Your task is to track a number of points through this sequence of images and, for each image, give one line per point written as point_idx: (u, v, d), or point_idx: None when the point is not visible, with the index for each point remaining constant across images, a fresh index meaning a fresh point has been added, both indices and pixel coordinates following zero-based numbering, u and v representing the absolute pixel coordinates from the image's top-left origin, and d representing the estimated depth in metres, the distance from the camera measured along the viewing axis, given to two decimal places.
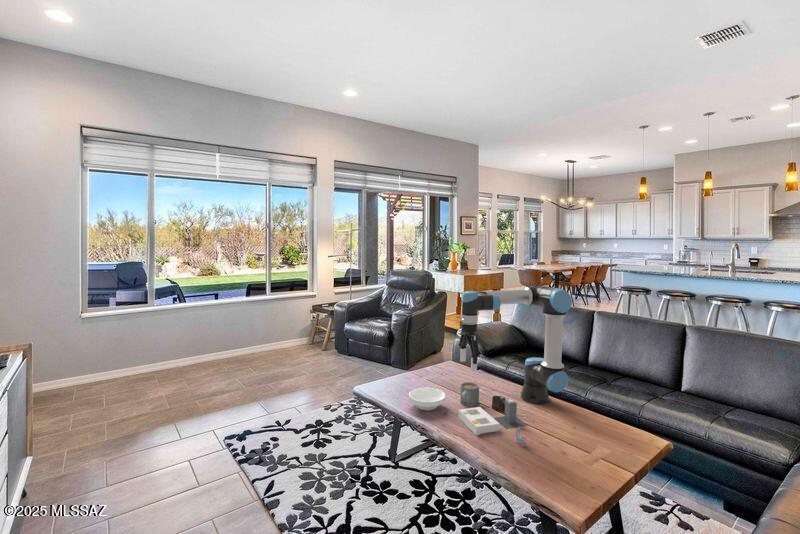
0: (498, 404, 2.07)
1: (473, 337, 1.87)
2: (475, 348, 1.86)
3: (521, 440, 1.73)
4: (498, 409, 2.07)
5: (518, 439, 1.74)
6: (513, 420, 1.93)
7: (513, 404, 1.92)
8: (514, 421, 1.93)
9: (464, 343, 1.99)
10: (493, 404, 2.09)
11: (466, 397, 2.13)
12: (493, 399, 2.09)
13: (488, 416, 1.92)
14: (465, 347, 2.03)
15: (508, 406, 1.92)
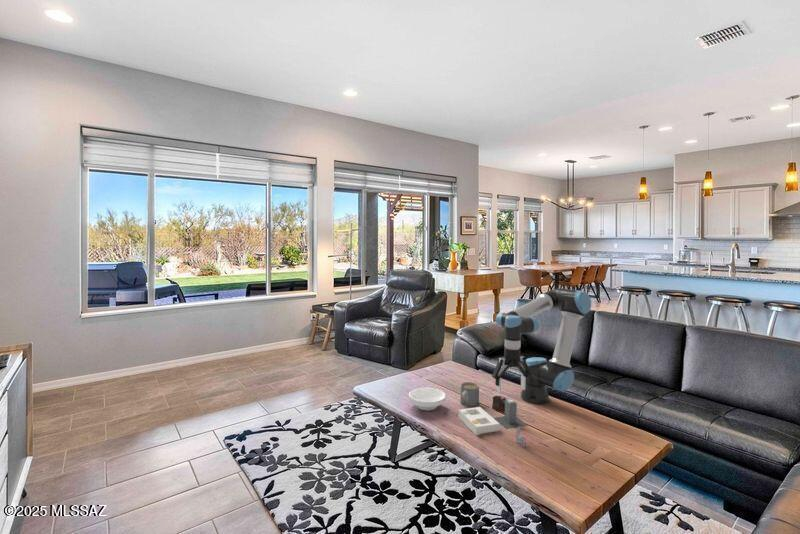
0: (499, 404, 2.07)
1: (498, 359, 1.91)
2: (495, 369, 1.90)
3: (521, 440, 1.74)
4: (498, 409, 2.07)
5: (518, 439, 1.74)
6: (513, 420, 1.93)
7: (513, 404, 1.92)
8: (514, 421, 1.93)
9: (519, 369, 1.94)
10: (494, 404, 2.09)
11: (466, 397, 2.13)
12: (494, 399, 2.09)
13: (488, 416, 1.92)
14: (527, 376, 1.94)
15: (508, 406, 1.92)
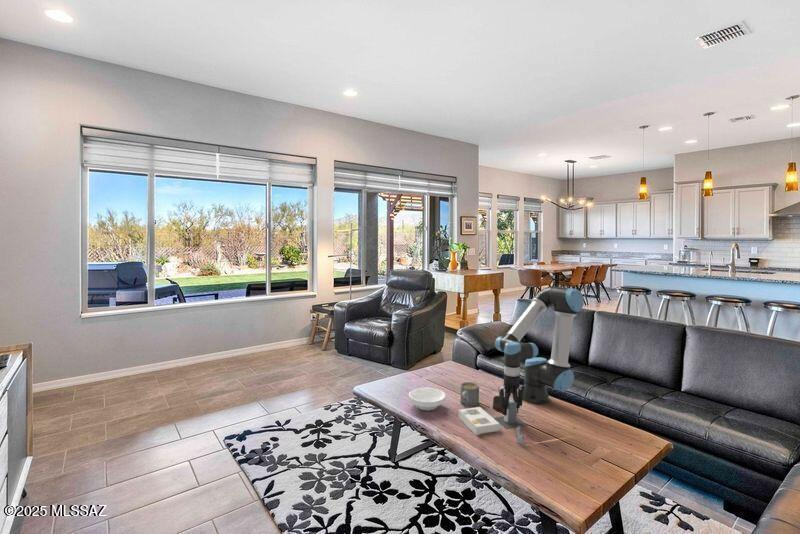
0: None
1: (498, 389, 1.92)
2: (500, 399, 1.92)
3: (521, 440, 1.74)
4: (499, 409, 2.06)
5: (518, 439, 1.75)
6: (513, 420, 1.93)
7: (513, 404, 1.92)
8: (514, 421, 1.93)
9: (514, 398, 1.94)
10: (494, 404, 2.09)
11: (466, 397, 2.13)
12: (494, 399, 2.09)
13: (488, 416, 1.92)
14: (518, 407, 1.94)
15: (508, 406, 1.92)
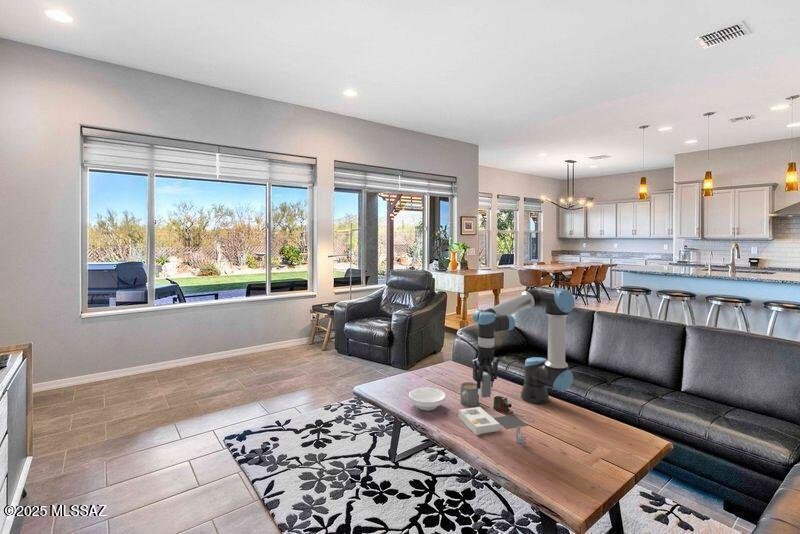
0: (500, 404, 2.06)
1: (472, 361, 1.84)
2: (473, 372, 1.85)
3: (521, 439, 1.74)
4: (500, 409, 2.06)
5: (518, 438, 1.75)
6: (487, 394, 1.85)
7: (487, 377, 1.84)
8: (488, 395, 1.85)
9: (488, 371, 1.87)
10: (495, 404, 2.09)
11: (466, 397, 2.13)
12: (495, 399, 2.09)
13: (488, 416, 1.92)
14: (492, 381, 1.86)
15: (482, 379, 1.85)
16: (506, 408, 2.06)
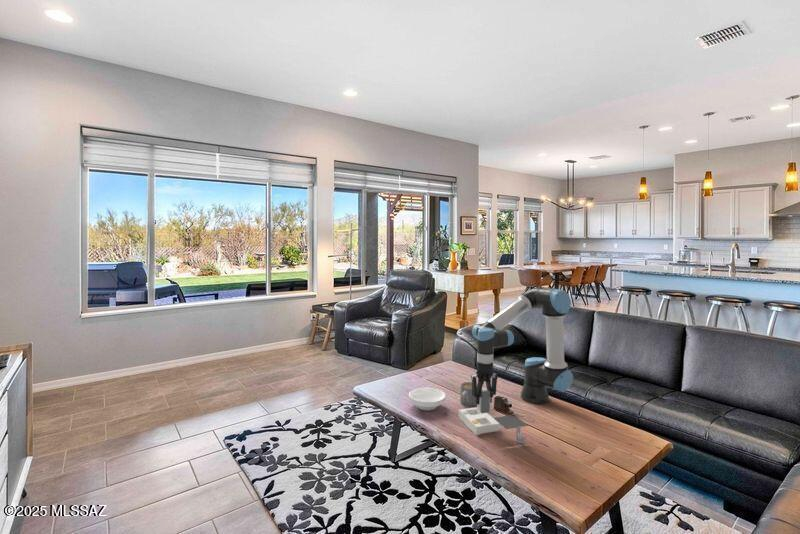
0: (500, 405, 2.06)
1: (471, 377, 1.85)
2: (472, 388, 1.85)
3: (521, 439, 1.74)
4: (500, 410, 2.06)
5: (518, 438, 1.75)
6: (486, 410, 1.85)
7: (486, 393, 1.85)
8: (487, 410, 1.86)
9: (487, 386, 1.87)
10: (495, 405, 2.08)
11: (466, 397, 2.13)
12: (495, 400, 2.09)
13: (488, 416, 1.92)
14: (491, 396, 1.86)
15: (481, 395, 1.85)
16: (506, 408, 2.06)
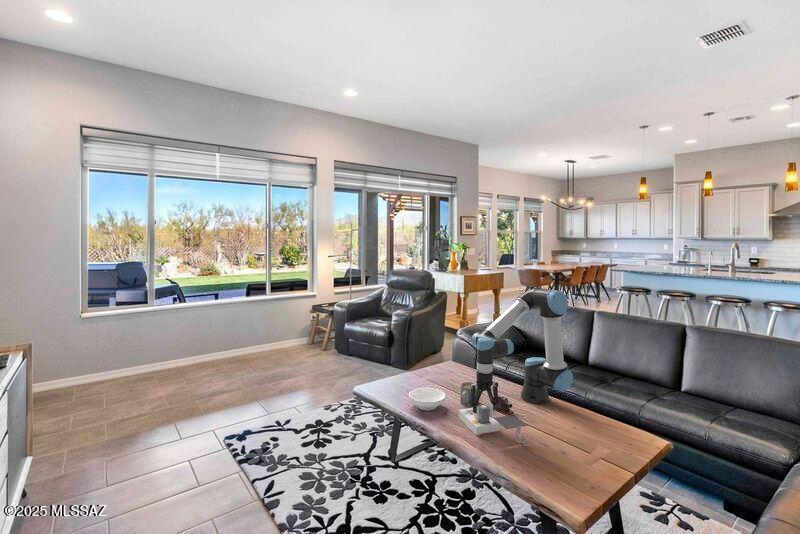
0: (500, 405, 2.06)
1: (470, 385, 1.85)
2: (470, 396, 1.85)
3: (521, 439, 1.74)
4: (500, 410, 2.06)
5: (518, 438, 1.75)
6: None
7: (486, 410, 1.85)
8: None
9: (489, 395, 1.88)
10: (495, 405, 2.08)
11: (466, 397, 2.13)
12: None
13: None
14: (494, 404, 1.87)
15: (481, 412, 1.86)
16: (507, 408, 2.06)
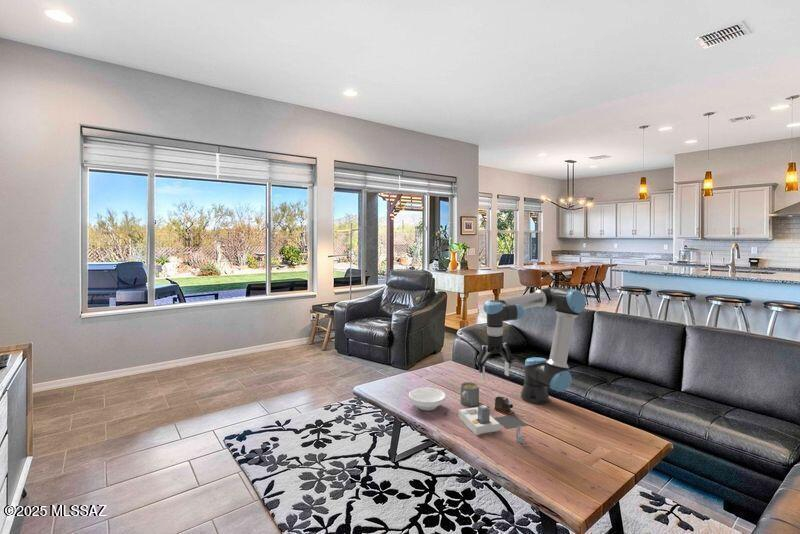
0: (501, 405, 2.06)
1: (481, 346, 1.91)
2: (478, 356, 1.91)
3: (521, 439, 1.74)
4: (501, 410, 2.06)
5: (518, 438, 1.75)
6: None
7: (486, 410, 1.85)
8: None
9: (503, 356, 1.95)
10: (496, 405, 2.08)
11: (466, 397, 2.13)
12: (496, 400, 2.08)
13: None
14: (510, 362, 1.94)
15: (481, 412, 1.86)
16: (507, 409, 2.06)
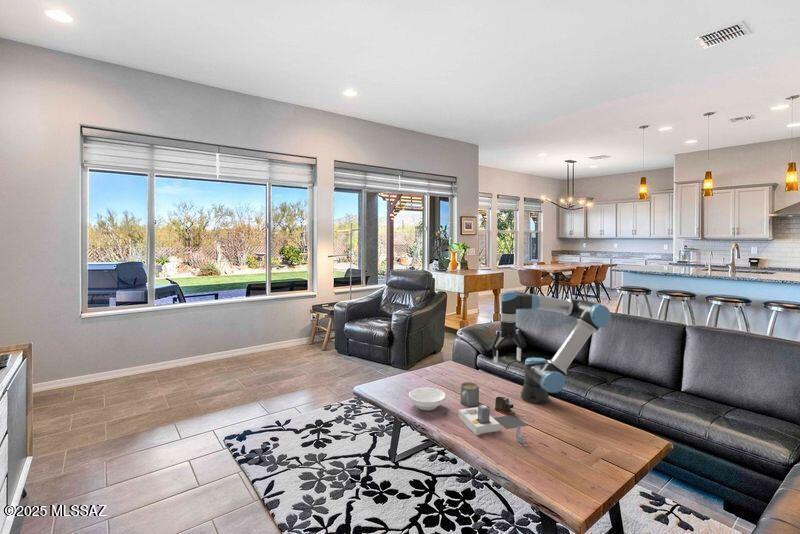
0: (501, 405, 2.05)
1: (495, 331, 2.03)
2: (492, 341, 2.02)
3: (521, 439, 1.74)
4: (501, 410, 2.05)
5: (518, 438, 1.75)
6: None
7: (486, 410, 1.85)
8: None
9: (515, 342, 2.06)
10: (496, 405, 2.08)
11: (466, 397, 2.13)
12: (496, 400, 2.08)
13: None
14: (522, 348, 2.06)
15: (481, 412, 1.86)
16: (508, 409, 2.06)
